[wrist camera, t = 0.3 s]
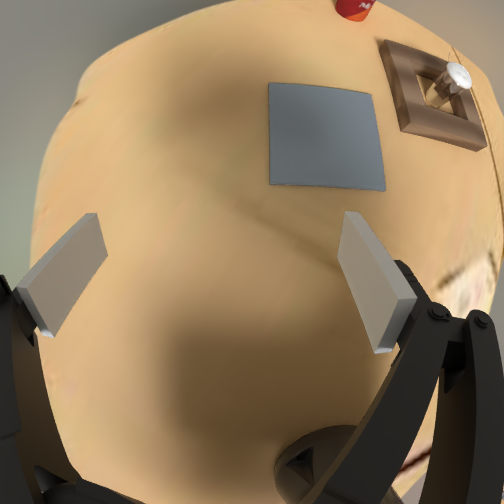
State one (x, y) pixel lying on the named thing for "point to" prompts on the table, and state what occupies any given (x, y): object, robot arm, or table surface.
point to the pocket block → (413, 106)
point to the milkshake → (448, 84)
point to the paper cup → (354, 9)
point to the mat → (323, 138)
